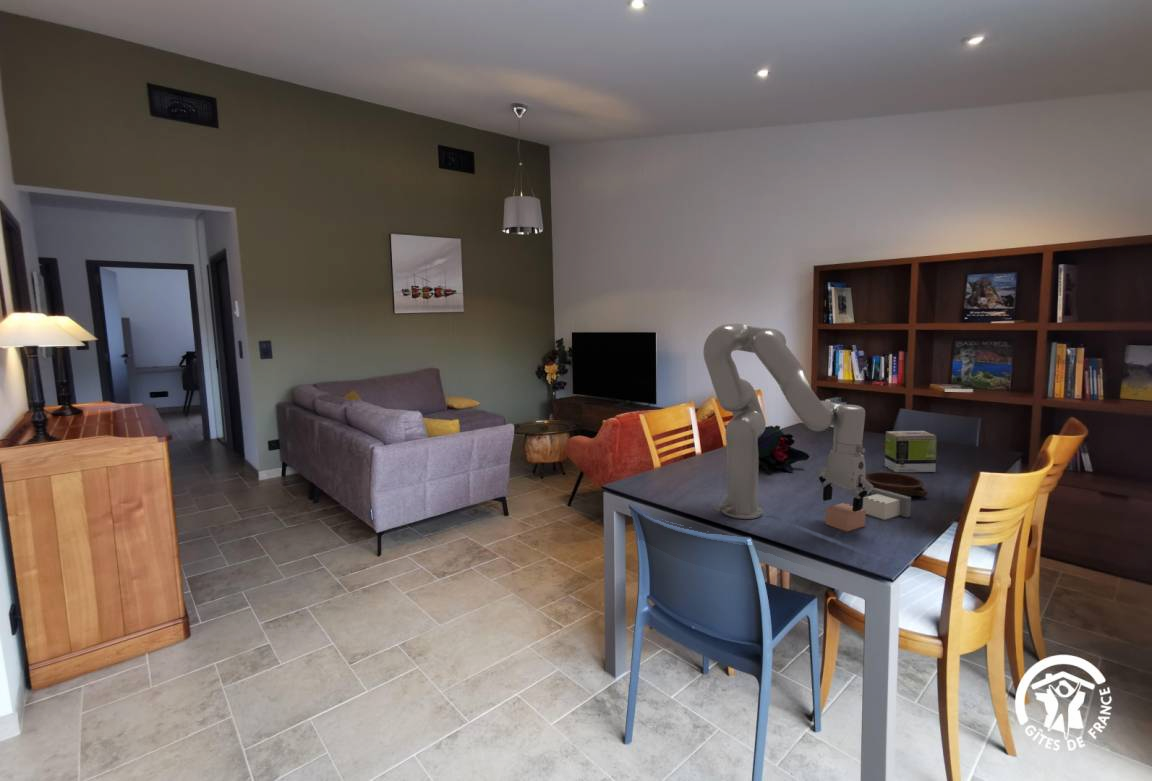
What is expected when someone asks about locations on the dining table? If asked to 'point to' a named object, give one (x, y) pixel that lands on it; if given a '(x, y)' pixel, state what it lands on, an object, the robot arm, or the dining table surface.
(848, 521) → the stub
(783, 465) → the decorative plant
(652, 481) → the dining table surface
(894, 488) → the dish
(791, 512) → the dining table surface
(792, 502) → the dining table surface
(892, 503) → the white block
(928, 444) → the tea box
